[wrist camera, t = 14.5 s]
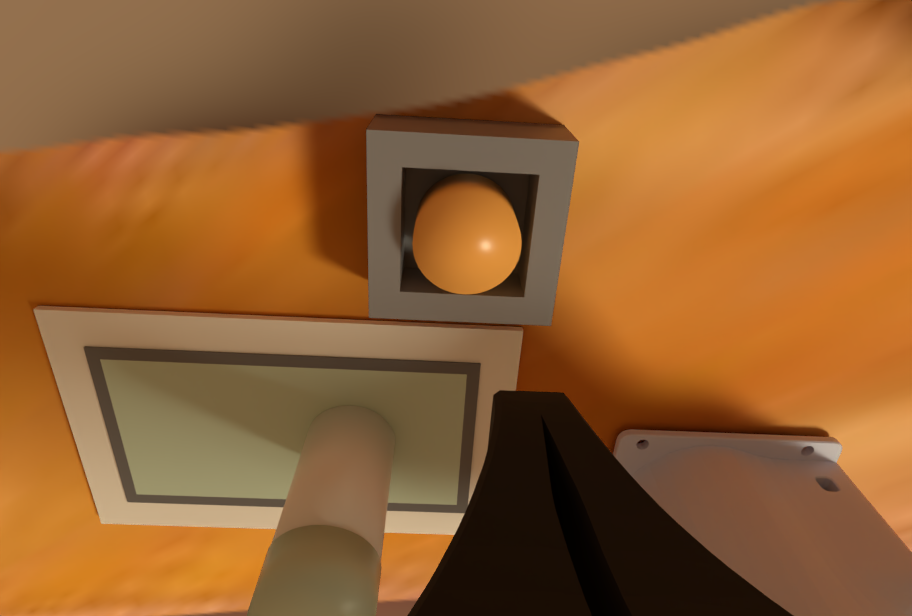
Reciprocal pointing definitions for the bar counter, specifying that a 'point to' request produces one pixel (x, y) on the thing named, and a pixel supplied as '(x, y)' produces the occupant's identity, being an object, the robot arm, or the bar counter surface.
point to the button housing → (466, 152)
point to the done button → (466, 234)
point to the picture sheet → (269, 408)
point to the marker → (331, 521)
